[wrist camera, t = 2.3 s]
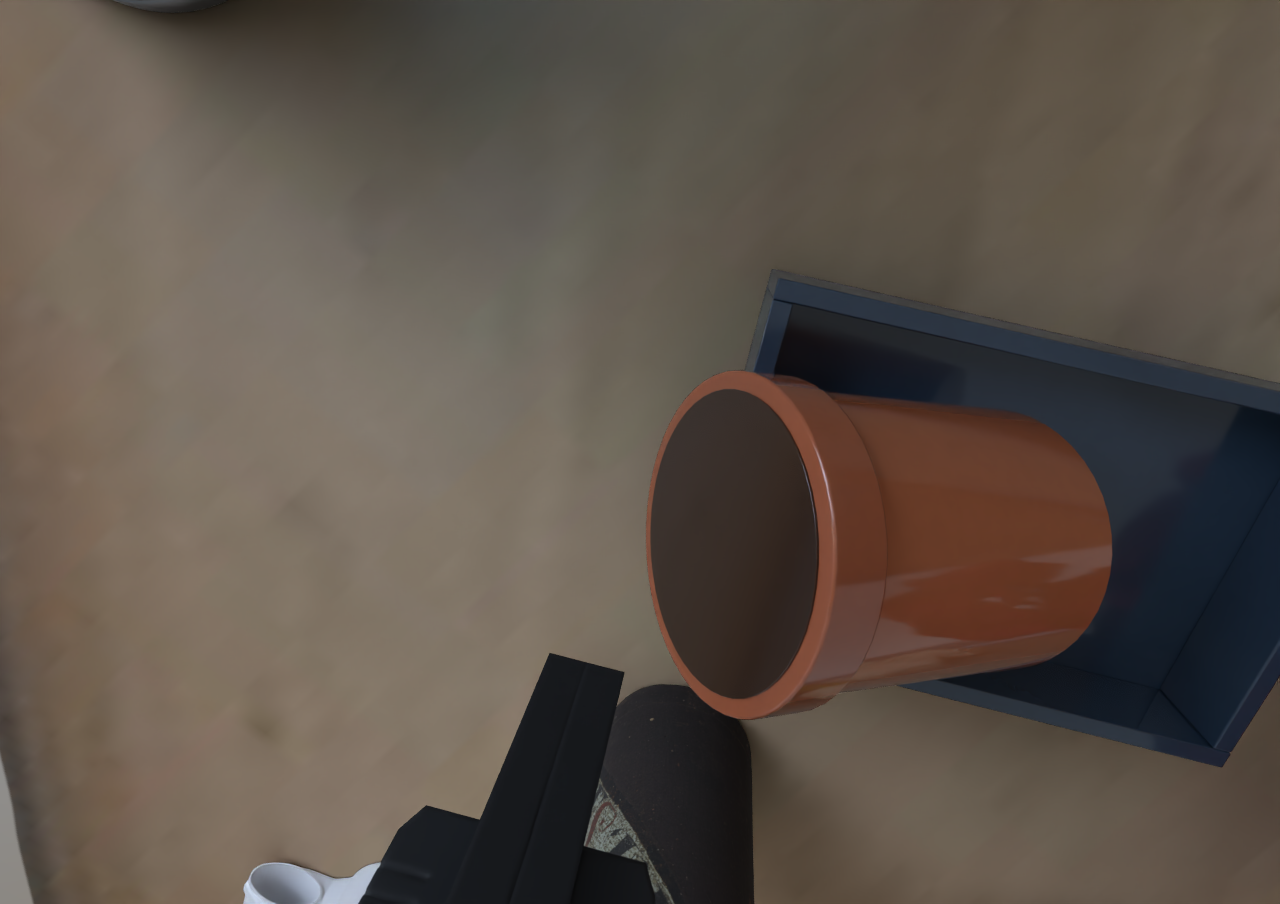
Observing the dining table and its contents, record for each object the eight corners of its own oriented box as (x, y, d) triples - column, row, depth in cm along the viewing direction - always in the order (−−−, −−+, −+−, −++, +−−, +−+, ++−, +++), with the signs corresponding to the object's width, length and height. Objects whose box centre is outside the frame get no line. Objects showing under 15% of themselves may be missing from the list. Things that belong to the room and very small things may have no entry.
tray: (771, 267, 30) (778, 277, 26) (1334, 395, 29) (1440, 427, 24) (688, 580, 35) (682, 632, 31) (1159, 697, 34) (1222, 768, 30)
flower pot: (693, 310, 30) (660, 396, 16) (1052, 393, 29) (1343, 557, 15) (641, 530, 34) (579, 755, 20) (959, 608, 33) (1127, 899, 19)
